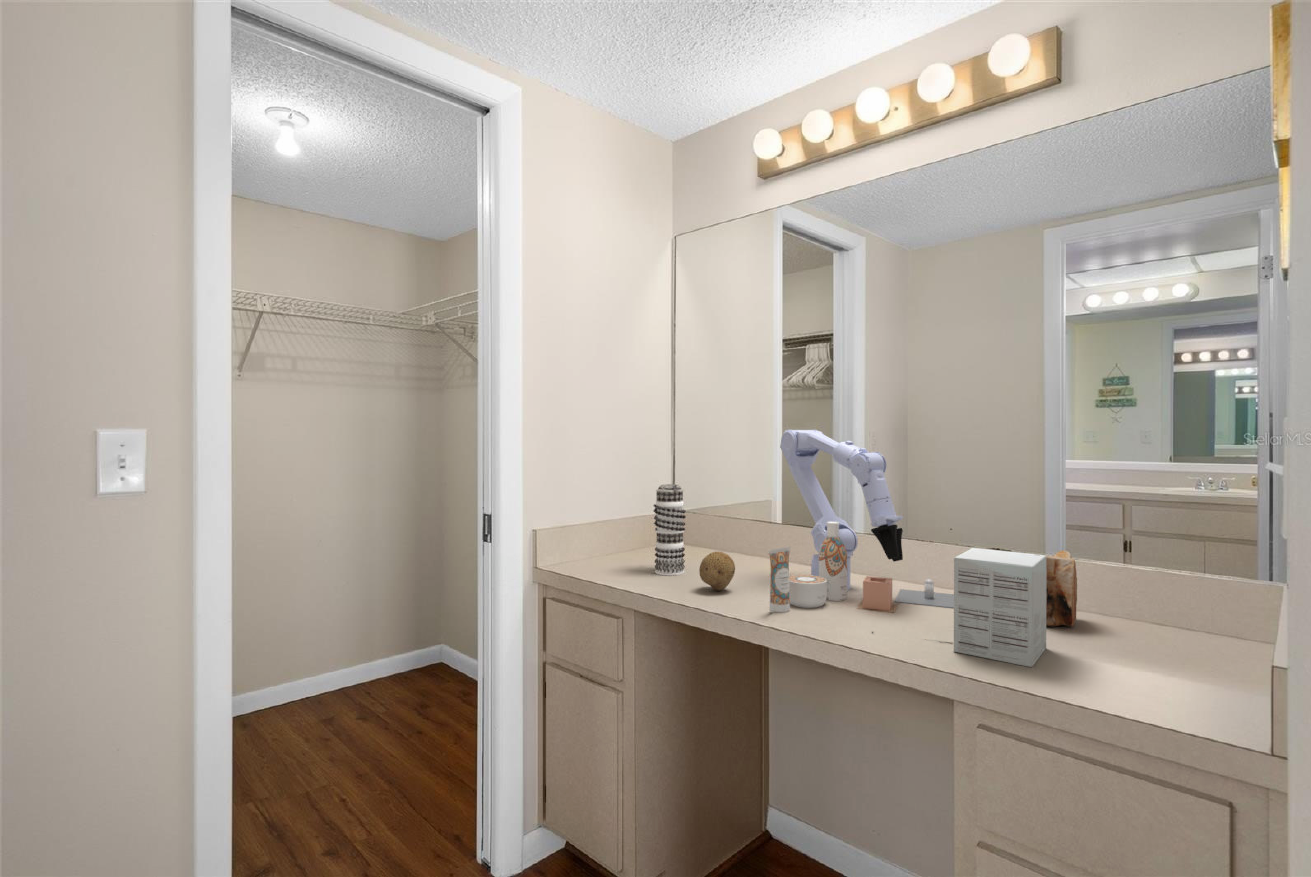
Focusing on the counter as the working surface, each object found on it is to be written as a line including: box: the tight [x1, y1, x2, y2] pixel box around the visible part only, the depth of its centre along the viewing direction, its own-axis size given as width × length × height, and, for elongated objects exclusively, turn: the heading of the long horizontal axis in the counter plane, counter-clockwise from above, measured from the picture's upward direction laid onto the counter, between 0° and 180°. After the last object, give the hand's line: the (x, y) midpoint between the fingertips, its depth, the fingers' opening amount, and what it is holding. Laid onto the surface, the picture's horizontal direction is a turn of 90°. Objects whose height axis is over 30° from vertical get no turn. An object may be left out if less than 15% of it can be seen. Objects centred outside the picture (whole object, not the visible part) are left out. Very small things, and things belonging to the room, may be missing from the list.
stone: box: [1045, 550, 1078, 628], centre depth 139 cm, size 14×9×15 cm, turn 127°
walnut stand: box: [856, 599, 899, 614], centre depth 150 cm, size 8×8×4 cm
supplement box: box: [953, 547, 1047, 668], centre depth 123 cm, size 13×13×18 cm
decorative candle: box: [653, 483, 687, 576], centre depth 190 cm, size 9×9×25 cm
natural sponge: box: [699, 551, 736, 592], centre depth 168 cm, size 9×9×10 cm
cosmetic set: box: [768, 522, 848, 614], centre depth 153 cm, size 25×9×19 cm, turn 127°
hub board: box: [894, 578, 954, 610], centre depth 157 cm, size 14×13×6 cm
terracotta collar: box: [862, 575, 893, 611], centre depth 150 cm, size 6×6×6 cm
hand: (895, 559), depth 150 cm, fingers open, 7 cm apart
